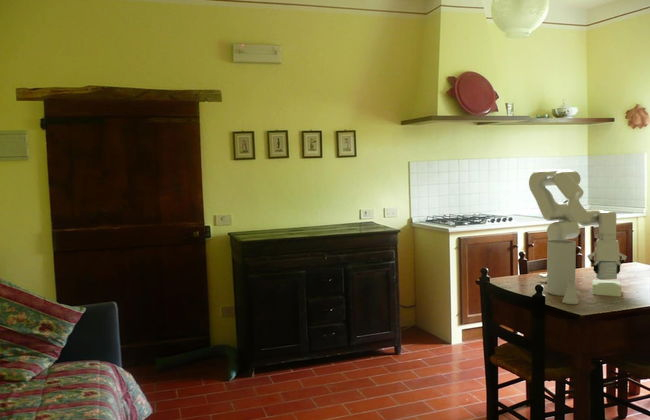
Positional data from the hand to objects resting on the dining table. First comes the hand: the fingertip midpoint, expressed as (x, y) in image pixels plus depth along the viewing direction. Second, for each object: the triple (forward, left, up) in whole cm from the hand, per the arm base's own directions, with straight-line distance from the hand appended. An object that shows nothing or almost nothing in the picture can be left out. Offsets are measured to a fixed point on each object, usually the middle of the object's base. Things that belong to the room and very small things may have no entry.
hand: (606, 273), depth 270 cm
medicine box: (0, 0, -3) cm, 3 cm away
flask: (-20, -22, -10) cm, 31 cm away
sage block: (0, 0, -10) cm, 10 cm away
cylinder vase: (-21, -4, -10) cm, 23 cm away
